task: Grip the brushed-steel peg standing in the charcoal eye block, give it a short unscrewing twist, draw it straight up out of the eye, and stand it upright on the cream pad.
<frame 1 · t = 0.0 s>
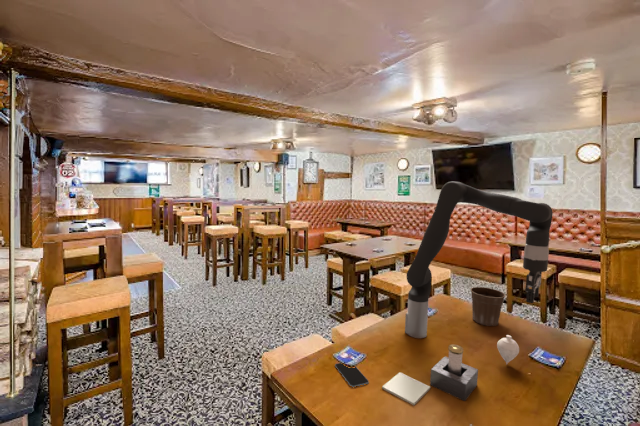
hand: (532, 299, 119), 29 cm above the table, tool pointing down, fingers open, 8 cm apart
eye block: (453, 385, 114), on the table
steel peg: (454, 366, 113), in the eye block
plant pot: (485, 321, 168), on the table
cream pad: (406, 388, 111), on the table
spinning top: (506, 364, 128), on the table
smartphone: (351, 375, 119), on the table
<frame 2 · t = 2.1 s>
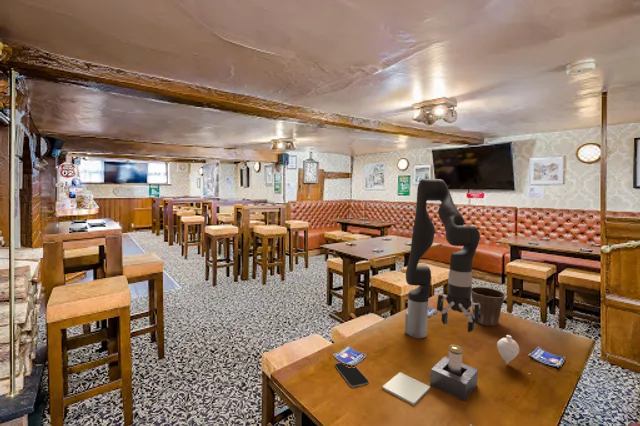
hand: (457, 327, 112), 21 cm above the table, tool pointing down, fingers open, 8 cm apart
nothing on the table moved.
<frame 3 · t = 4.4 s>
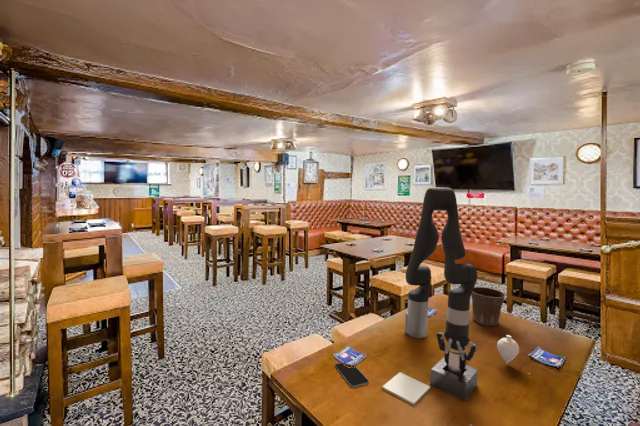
hand: (454, 365, 113), 7 cm above the table, tool pointing down, fingers closed on steel peg, 4 cm apart
steel peg: (454, 366, 113), in the eye block, touching gripper
everything else where it was.
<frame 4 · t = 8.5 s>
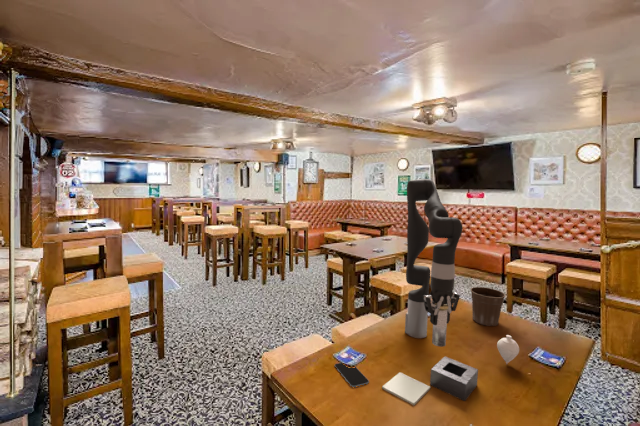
hand: (439, 323, 110), 23 cm above the table, tool pointing down, fingers closed on steel peg, 4 cm apart
steel peg: (439, 324, 110), point 23 cm above the table, touching gripper
everything else where it was.
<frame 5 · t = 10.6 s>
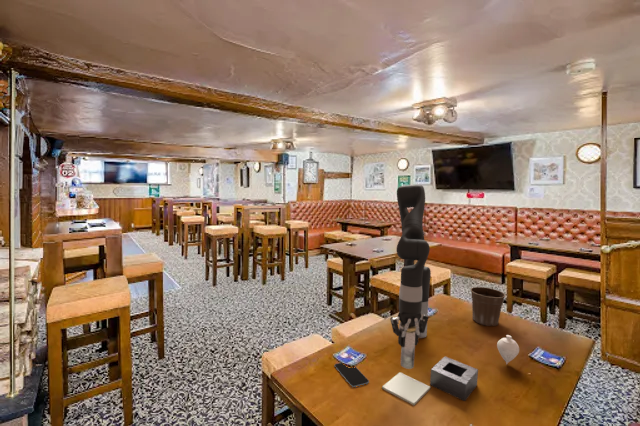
hand: (408, 344, 110), 16 cm above the table, tool pointing down, fingers closed on steel peg, 4 cm apart
steel peg: (408, 345, 110), point 16 cm above the table, touching gripper
everything else where it was.
when the fingers open (10 cm above the table, at t = 12.6 s): steel peg drops 1 cm, resting on cream pad.
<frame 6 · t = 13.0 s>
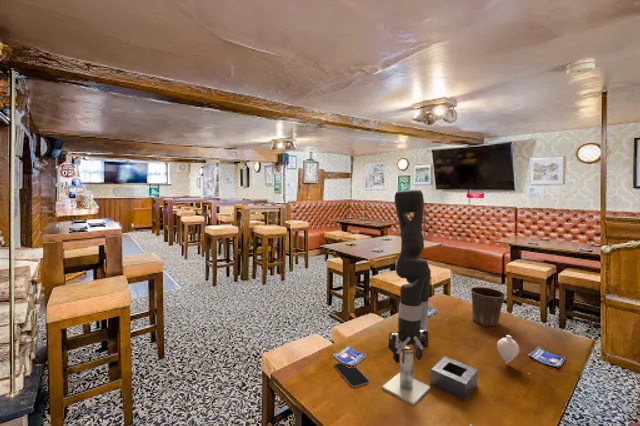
hand: (407, 360, 110), 10 cm above the table, tool pointing down, fingers open, 8 cm apart
steel peg: (406, 366, 111), on the cream pad, point 8 cm above the table
everything else where it was.
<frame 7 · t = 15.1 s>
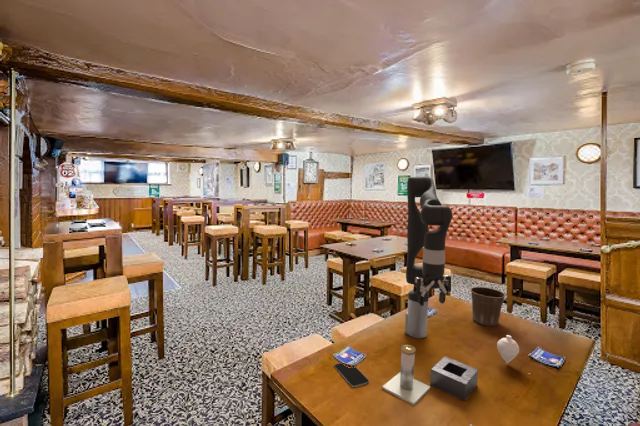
hand: (431, 303, 116), 28 cm above the table, tool pointing down, fingers open, 8 cm apart
nothing on the table moved.
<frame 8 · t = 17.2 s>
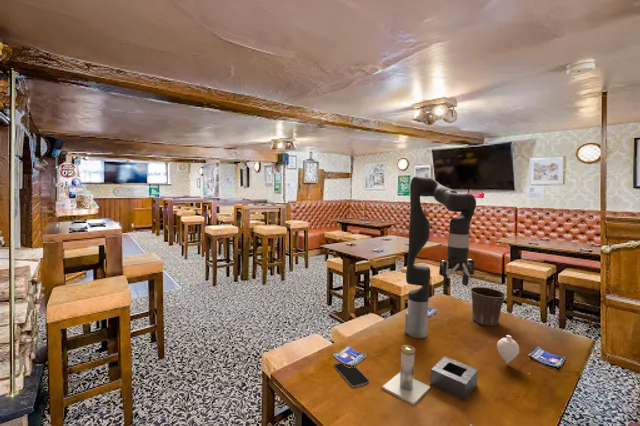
hand: (455, 285, 124), 32 cm above the table, tool pointing down, fingers open, 8 cm apart
nothing on the table moved.
at the end: steel peg inside the target area on the cream pad (0.0 cm from its centre), point 7.8 cm above the cream pad's base; steel peg tilted 0°; the gripper is holding nothing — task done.
